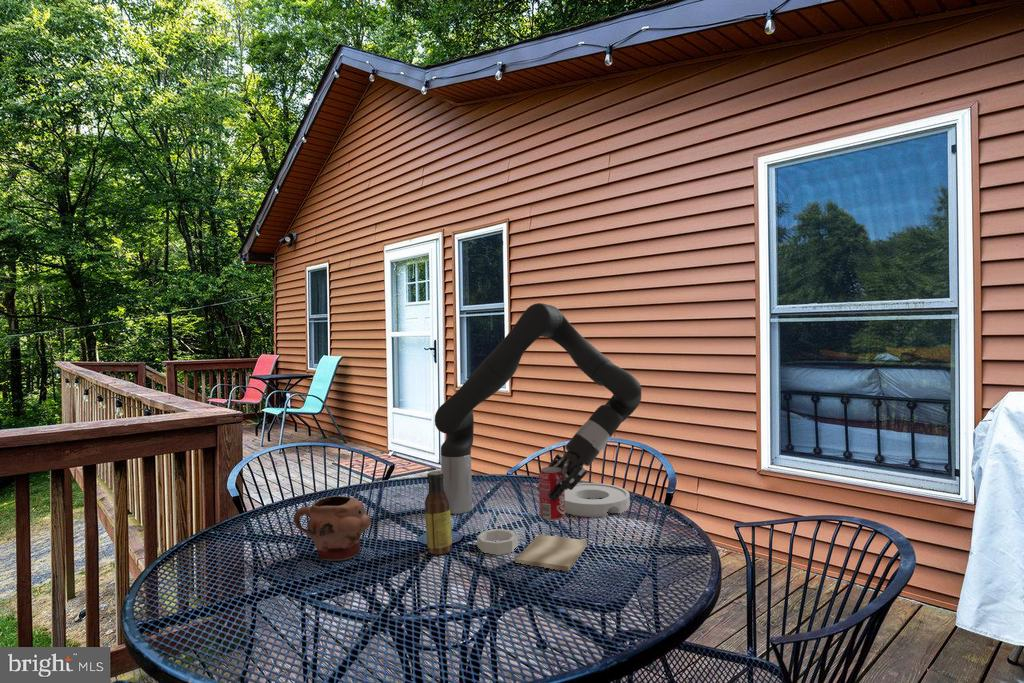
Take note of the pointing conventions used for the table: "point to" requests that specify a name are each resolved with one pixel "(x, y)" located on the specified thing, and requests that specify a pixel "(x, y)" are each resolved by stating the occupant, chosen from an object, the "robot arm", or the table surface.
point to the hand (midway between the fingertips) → (545, 495)
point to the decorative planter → (335, 526)
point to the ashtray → (596, 500)
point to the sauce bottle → (437, 516)
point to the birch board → (552, 552)
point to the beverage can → (546, 484)
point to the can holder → (499, 548)
